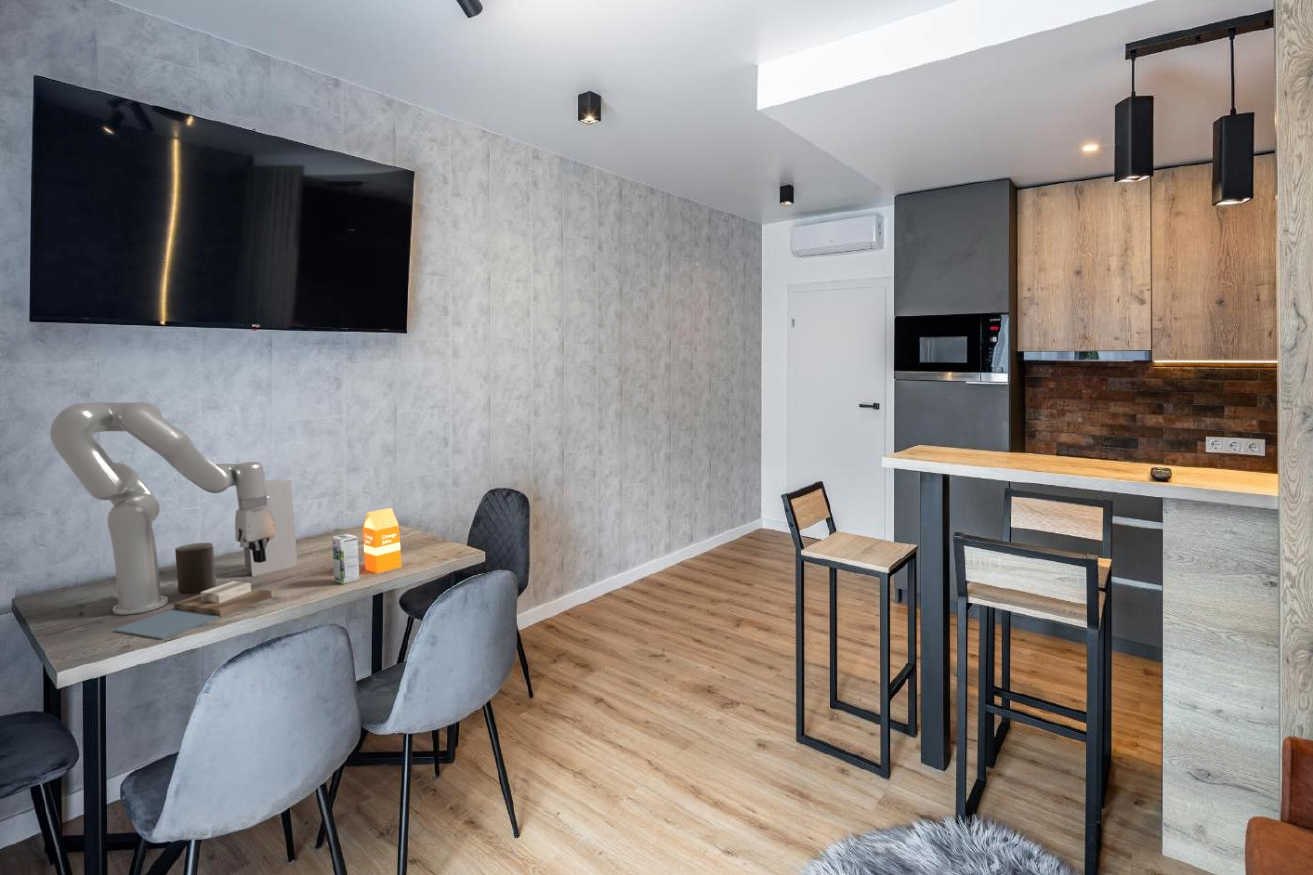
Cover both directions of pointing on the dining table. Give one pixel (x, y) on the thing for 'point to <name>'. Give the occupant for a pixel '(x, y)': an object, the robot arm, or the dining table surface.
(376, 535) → the orange juice
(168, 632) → the mat
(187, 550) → the pillar candle
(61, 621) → the dining table surface
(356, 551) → the syrup box
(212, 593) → the tile
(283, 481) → the tall grey block
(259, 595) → the board
